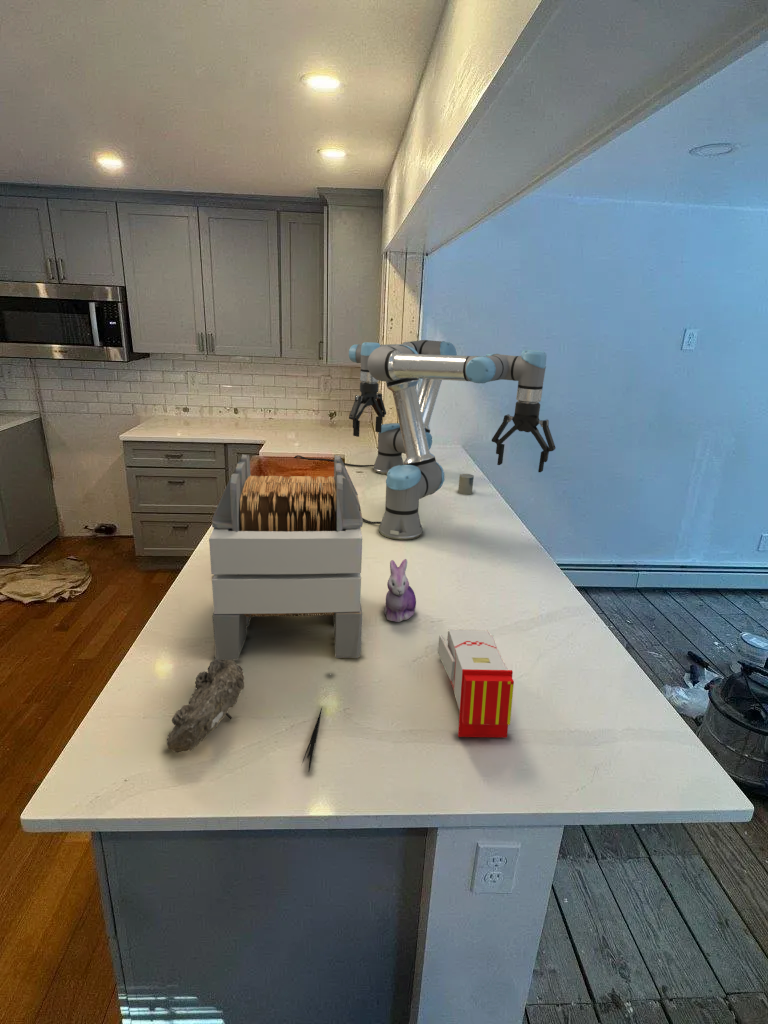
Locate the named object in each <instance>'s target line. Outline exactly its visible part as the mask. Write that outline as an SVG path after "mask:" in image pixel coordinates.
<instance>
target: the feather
mask: <svg viewBox="0 0 768 1024" xmlns="http://www.w3.org/2000/svg"><path fill="white" fill-rule="evenodd" d="M329 675H330V676H331V675H332V674H331V673H330V674H329ZM322 710H323V707H321V708H320V710H319V713H318V716H317V719H316V723H315V725H314V728H313V731H312V733H311V737H310V739H309V742H308V745H307V748H306V751H305V754H304V757H303V760H302V763H301V767H302V765H303V763H304V761H305V758H308V759H309V760H308V762H307V763H308V764H307V766H308V771H310V770H311V766H312V765H311V764H312V760H313V757H315V756H314V755H315V751H316V749H315V746H317V739H318V733H319V729H320V722H321V717H322V712H323V711H322ZM313 754H314V755H313ZM306 755H307V757H306Z"/></svg>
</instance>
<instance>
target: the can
mask: <svg viewBox="0 0 768 1024" xmlns="http://www.w3.org/2000/svg"><path fill="white" fill-rule="evenodd" d="M474 478H475V476H474V475H473V474H471V473H460V474H459V478H458V487H457V488H458V489H457V493H458V494H459V495H463V496H470V495H472V494H473V487H474V480H475V479H474Z"/></svg>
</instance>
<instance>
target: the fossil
mask: <svg viewBox="0 0 768 1024" xmlns="http://www.w3.org/2000/svg"><path fill="white" fill-rule="evenodd" d="M243 670H244V669H243V667H242V665H240V664H237V662H236V660H232V659H231V660H228V659H227V660H221V661H217V660H215V659H212V660H211V661H210V663H209V665H208V666H207V671H201V672H199V673H198V674H197V675H196V676H195V680H194V684H195V685H194V687H195V689H194V690H193V693H192V694H191V697H190V698H189V700H188V704H184V705H182V706H181V707H180V709H177V710H176V711H175V713H174V715H173V716H172V718H171V723H172V724H173V727H172V730H171V731H170V732H168V734H167V738H166V741H167V742H166V745H167V749H168V750H169V751H173V752H174V753H176V754H178V753H182V752H188V751H189V752H192V751H193V750H195V748H196V747H197V746H199V744H200V743H201V742H203V741H204V740H205V739H206V738H207V737H208V736H209V735H210V734H211V733H212V732H214V730H215V729H217V727H218V726H219V724H220V722H221V721H222V720H223V719H224V718H225V716H226V717H227V719H229V720H233V717H232V715H230V714H229V710H230V709H231V708H234V706H235V704H236V703H237V702H238V699H239V697H240V695H241V693H242V691H243V690H245V689H244V688H245V675H244V671H243Z"/></svg>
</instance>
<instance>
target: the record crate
mask: <svg viewBox="0 0 768 1024" xmlns="http://www.w3.org/2000/svg"><path fill="white" fill-rule="evenodd" d="M333 460H334V461H333V469H334V470H333V476H327V477H325V476H321V475H319V476H314V477H313V476H311V475H309V476H307V475H290V476H283V475H279V476H278V475H265V476H264V475H259V476H258V475H251V459H250V454H243V453H242V454H241V456H240V459H239V461H238V462H237V464H236V466H235V469H234V471H233V473H232V474H231V475H230V478H229V479H228V482H227V484H226V486H225V489H224V491H223V493H222V496H221V498H220V500H219V502H218V504H217V507H216V508H215V511H214V513H213V516H212V518H211V527H212V528H213V529H212V531H211V534H210V535H209V538H208V543H209V559H210V574H211V575H213V576H212V579H211V587H212V588H211V589H212V600H213V601H212V603H213V612H212V629H213V630H212V631H213V640H214V649H215V657H214V660H217V661H224V660H227V659H228V660H231V659H232V660H234V661H238V660H239V658H240V654H241V653H242V649H243V647H244V645H245V642H246V640H247V636H248V632H247V630H248V629H247V627H249V626H250V624H251V623H250V622H251V618H253V617H254V618H255V617H258V618H259V617H264V618H265V617H267V618H268V617H292V616H293V617H308V616H310V617H311V616H333V618H332V619H333V626H334V627H333V636H334V638H333V639H334V640H333V641H334V658H337V659H342V658H344V659H345V658H347V659H349V658H352V659H358V658H359V657H361V656H362V633H363V632H362V631H363V630H362V629H363V611H362V603H361V590H362V576H361V574H362V563H363V562H362V561H363V534H362V529H361V528H362V527H363V525H364V524H363V523H364V521H363V519H362V518H363V515H362V509H361V505H360V499H359V494H358V492H357V489H356V487H355V485H354V483H353V481H352V478H351V477H350V474H349V472H348V470H347V468H346V465H344V463H345V462H344V461H343V459H342V456H341V455H336V454H334V458H333Z"/></svg>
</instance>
